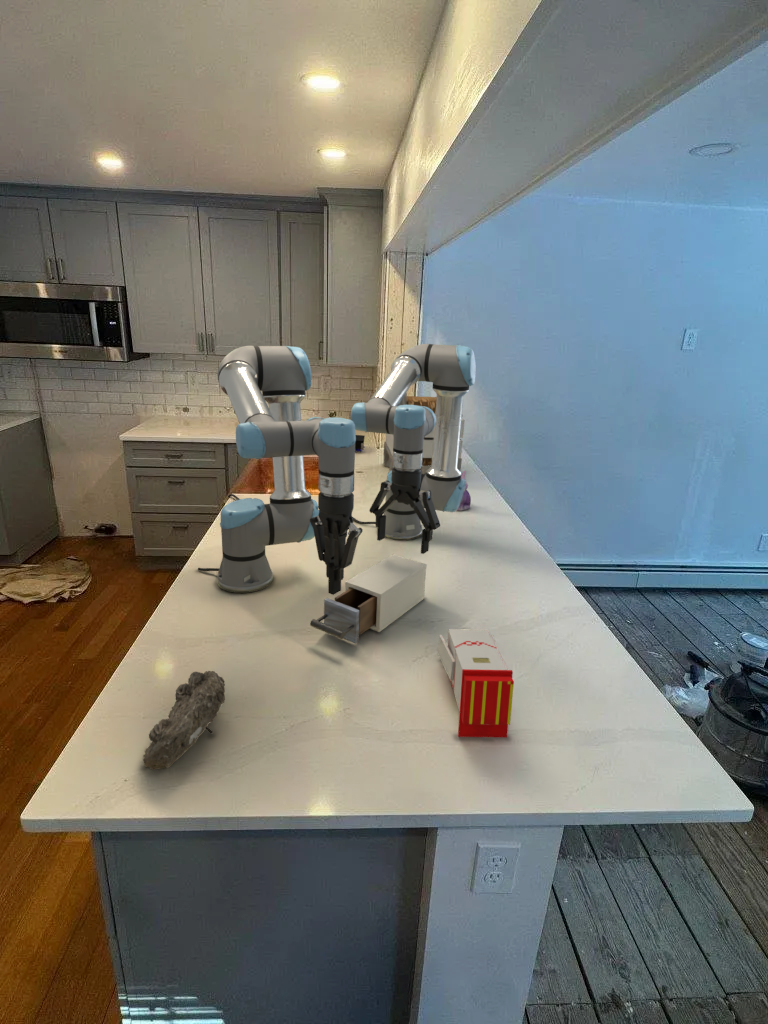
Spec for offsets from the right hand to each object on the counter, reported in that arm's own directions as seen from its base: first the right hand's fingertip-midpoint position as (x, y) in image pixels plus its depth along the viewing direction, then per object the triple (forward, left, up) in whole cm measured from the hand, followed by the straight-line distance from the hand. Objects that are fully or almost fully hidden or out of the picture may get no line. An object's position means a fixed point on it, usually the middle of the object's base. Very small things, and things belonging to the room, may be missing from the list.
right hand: (402, 545), depth 150 cm
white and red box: (+39, -15, -16) cm, 45 cm away
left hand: (+8, -28, -2) cm, 29 cm away
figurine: (-42, +71, -16) cm, 84 cm away
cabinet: (+2, -6, -16) cm, 17 cm away
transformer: (-88, +93, -16) cm, 129 cm away
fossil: (+15, -65, -16) cm, 68 cm away
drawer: (+5, -18, -15) cm, 24 cm away
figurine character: (-139, +95, -16) cm, 169 cm away
